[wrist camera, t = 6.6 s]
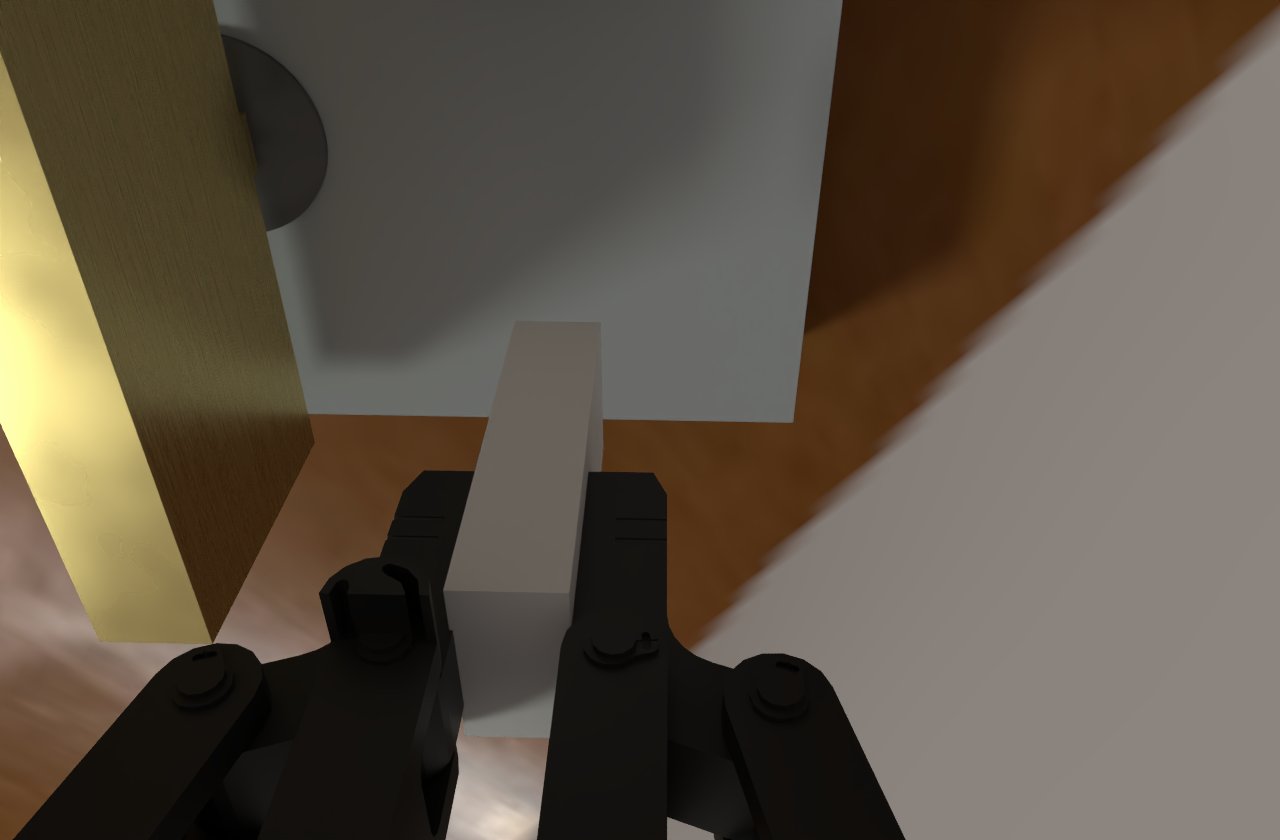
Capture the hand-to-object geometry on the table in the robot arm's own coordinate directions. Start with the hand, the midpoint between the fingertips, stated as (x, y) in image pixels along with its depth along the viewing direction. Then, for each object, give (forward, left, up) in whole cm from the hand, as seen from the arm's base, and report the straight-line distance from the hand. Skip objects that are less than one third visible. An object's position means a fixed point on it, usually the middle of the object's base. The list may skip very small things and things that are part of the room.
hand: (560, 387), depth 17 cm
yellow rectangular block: (-7, +3, -4) cm, 9 cm away
